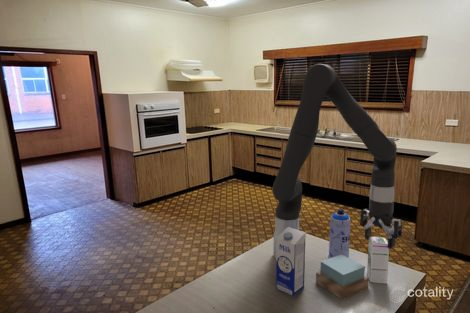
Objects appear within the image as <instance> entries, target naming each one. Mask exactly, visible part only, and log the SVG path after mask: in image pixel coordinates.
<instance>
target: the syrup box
mask: <svg viewBox="0 0 470 313" xmlns="http://www.w3.org/2000/svg"><path fill="white" fill-rule="evenodd" d="M367 247H368V249H367V251H368V252H367V265H366V266H367V267H366V268H367V269H366V275H367V277H368V278H369V282H370V283H375V284H383V285H384V284H388V273H389V256H390V255H389V253H390V249H389V248H388V239H387V237H382V236H371V237H369V240H368V246H367Z"/></svg>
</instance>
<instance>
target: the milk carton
mask: <svg viewBox="0 0 470 313" xmlns="http://www.w3.org/2000/svg"><path fill="white" fill-rule="evenodd" d="M306 233H307V232H306V231H302V230H300V229H299V230H297V229H294V228H290V227H287V228H286V229H285V230H284V231H283V232H282V233H281V234H280V235H279V236H278V237H277V248H276V258H275V260H276V261H275V262H276V263H275V265H276V266H275V268H276V270H275V273H276V274H275V289H276V290H278V291H281V292H283V293H284V294H286V295H289V296H291V297H294V296H296V295H297V294H298V293H299V292H301V290H303V289H304V288H305V270H306V268H305V266H306V262H305V261H306V238H307V237H306Z"/></svg>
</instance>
